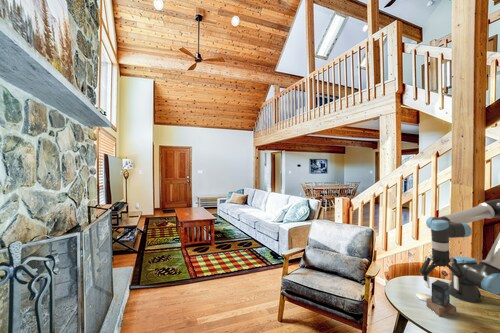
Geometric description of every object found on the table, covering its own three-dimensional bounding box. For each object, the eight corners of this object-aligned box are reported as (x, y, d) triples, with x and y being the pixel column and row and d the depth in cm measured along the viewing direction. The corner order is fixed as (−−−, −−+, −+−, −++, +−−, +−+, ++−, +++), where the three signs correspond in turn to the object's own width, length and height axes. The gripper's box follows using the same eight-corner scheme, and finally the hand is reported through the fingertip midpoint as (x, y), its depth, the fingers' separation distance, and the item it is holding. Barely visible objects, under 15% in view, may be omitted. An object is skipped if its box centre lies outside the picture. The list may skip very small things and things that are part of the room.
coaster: (430, 294, 147) (430, 293, 147) (438, 302, 139) (438, 301, 139) (413, 293, 149) (413, 292, 149) (420, 301, 141) (420, 300, 141)
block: (442, 306, 136) (442, 298, 136) (456, 316, 127) (456, 307, 127) (426, 307, 135) (426, 298, 135) (439, 317, 126) (439, 307, 126)
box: (443, 307, 127) (443, 287, 127) (431, 302, 132) (430, 282, 132) (450, 302, 131) (449, 283, 131) (437, 298, 136) (437, 279, 136)
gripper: (462, 247, 132) (464, 286, 132) (411, 245, 137) (413, 282, 137) (472, 252, 124) (473, 293, 125) (417, 250, 130) (419, 289, 130)
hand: (441, 287), depth 131 cm, fingers open, 13 cm apart
